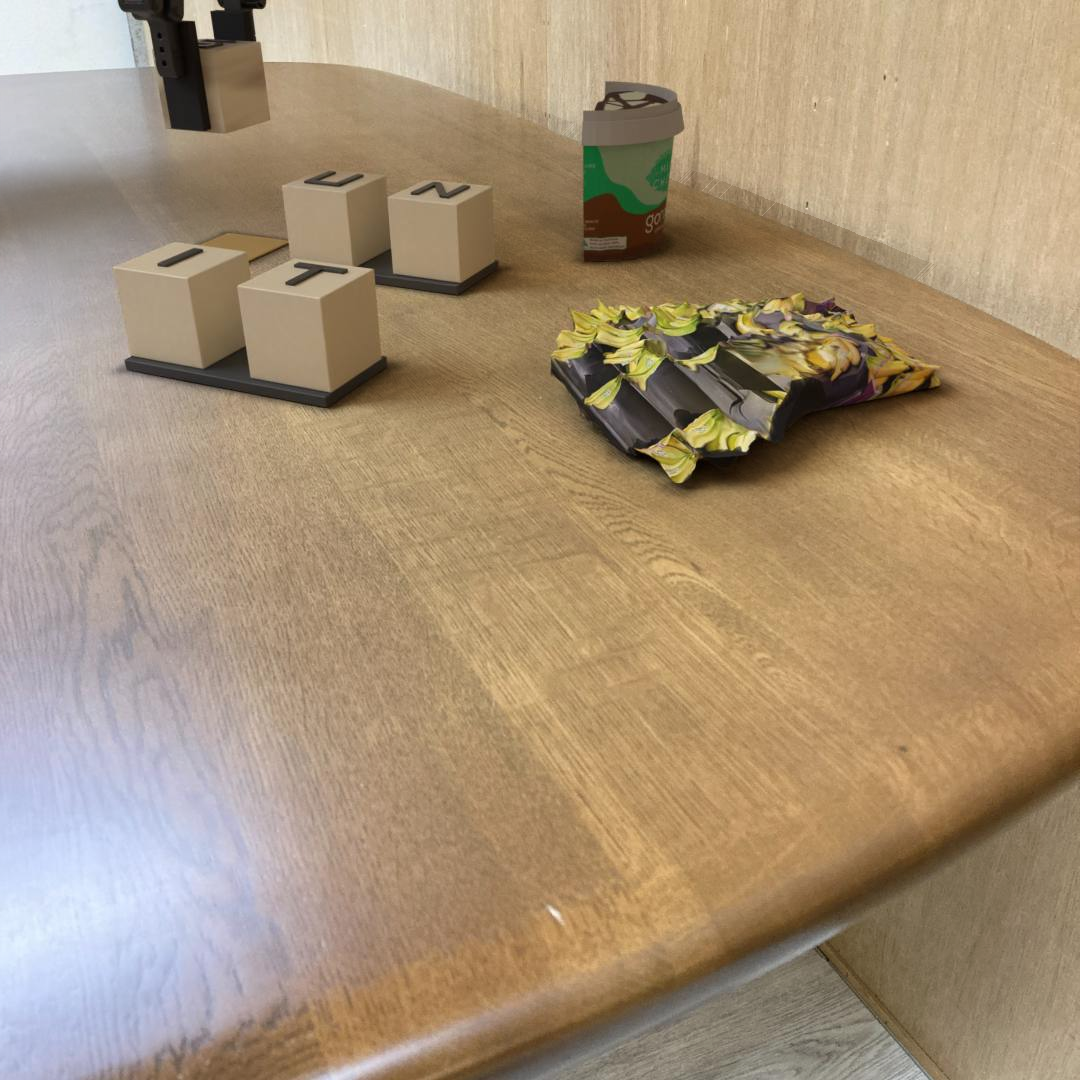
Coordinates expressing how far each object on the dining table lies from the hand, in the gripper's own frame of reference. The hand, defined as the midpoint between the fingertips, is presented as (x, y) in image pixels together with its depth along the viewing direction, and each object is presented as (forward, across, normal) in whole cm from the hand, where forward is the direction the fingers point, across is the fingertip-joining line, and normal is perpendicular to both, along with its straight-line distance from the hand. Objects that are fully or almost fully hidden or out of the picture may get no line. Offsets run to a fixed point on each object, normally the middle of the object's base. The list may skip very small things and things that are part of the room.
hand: (218, 120), depth 77 cm
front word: (+9, -18, -15) cm, 25 cm away
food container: (+9, +12, -26) cm, 30 cm away
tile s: (0, 0, 0) cm, 0 cm away
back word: (+9, 0, -8) cm, 12 cm away
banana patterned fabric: (+9, -11, -41) cm, 43 cm away
